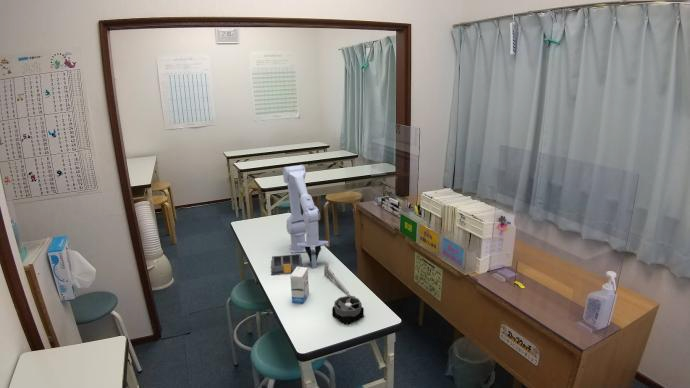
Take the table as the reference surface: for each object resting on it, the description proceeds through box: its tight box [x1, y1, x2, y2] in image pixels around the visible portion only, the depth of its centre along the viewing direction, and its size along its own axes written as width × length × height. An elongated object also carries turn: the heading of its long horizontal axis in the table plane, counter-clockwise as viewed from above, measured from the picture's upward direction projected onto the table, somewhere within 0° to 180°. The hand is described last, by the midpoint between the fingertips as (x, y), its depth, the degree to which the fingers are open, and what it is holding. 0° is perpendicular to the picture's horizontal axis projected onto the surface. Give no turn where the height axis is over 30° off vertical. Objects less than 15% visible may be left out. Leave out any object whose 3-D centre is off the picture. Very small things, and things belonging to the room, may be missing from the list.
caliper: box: [323, 263, 351, 296], centre depth 169 cm, size 21×1×6 cm, turn 31°
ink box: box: [289, 266, 310, 304], centre depth 159 cm, size 9×5×12 cm, turn 168°
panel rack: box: [270, 253, 304, 276], centre depth 186 cm, size 14×15×5 cm
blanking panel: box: [310, 248, 317, 269], centre depth 187 cm, size 8×2×6 cm, turn 10°
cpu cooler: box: [331, 294, 365, 326], centre depth 147 cm, size 10×6×10 cm
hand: (313, 260), depth 188 cm, fingers closed on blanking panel, 2 cm apart
